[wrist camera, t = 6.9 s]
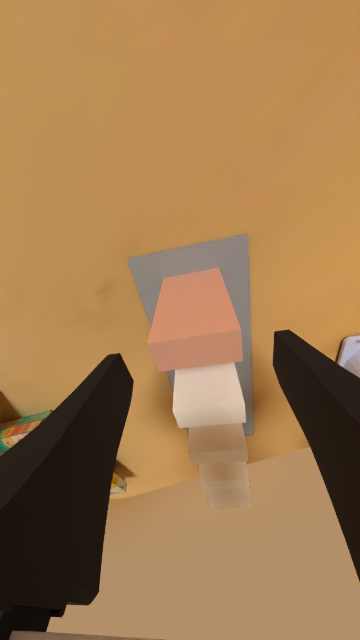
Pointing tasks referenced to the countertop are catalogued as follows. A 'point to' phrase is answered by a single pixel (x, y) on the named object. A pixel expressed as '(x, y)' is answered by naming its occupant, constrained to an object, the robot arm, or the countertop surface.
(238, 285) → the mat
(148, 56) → the countertop surface
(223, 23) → the countertop surface
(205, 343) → the domino
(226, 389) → the domino
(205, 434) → the domino
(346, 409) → the robot arm
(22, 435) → the puzzle game
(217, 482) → the domino
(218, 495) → the domino
